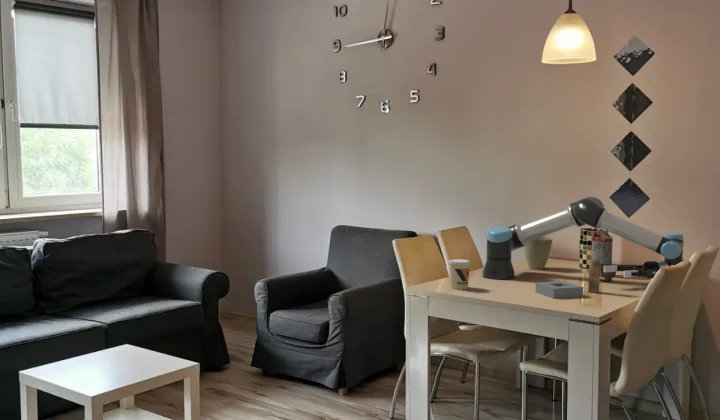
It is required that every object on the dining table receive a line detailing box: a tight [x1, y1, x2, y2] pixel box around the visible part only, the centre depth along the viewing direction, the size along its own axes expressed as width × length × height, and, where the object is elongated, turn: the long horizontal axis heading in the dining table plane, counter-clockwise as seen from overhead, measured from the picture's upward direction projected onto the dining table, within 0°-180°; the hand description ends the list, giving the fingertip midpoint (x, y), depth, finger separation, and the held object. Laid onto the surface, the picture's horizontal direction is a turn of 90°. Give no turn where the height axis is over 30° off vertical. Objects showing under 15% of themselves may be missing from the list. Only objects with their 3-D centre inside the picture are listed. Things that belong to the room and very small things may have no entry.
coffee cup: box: [448, 258, 471, 290], centre depth 307 cm, size 9×9×12 cm
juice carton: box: [591, 230, 614, 278], centre depth 340 cm, size 7×7×22 cm
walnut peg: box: [587, 258, 600, 294], centre depth 299 cm, size 4×4×14 cm
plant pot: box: [523, 236, 553, 270], centre depth 360 cm, size 15×15×16 cm
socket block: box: [535, 280, 584, 299], centre depth 294 cm, size 14×14×4 cm
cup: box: [600, 263, 617, 283], centre depth 325 cm, size 8×7×8 cm
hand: (613, 271), depth 301 cm, fingers open, 13 cm apart
